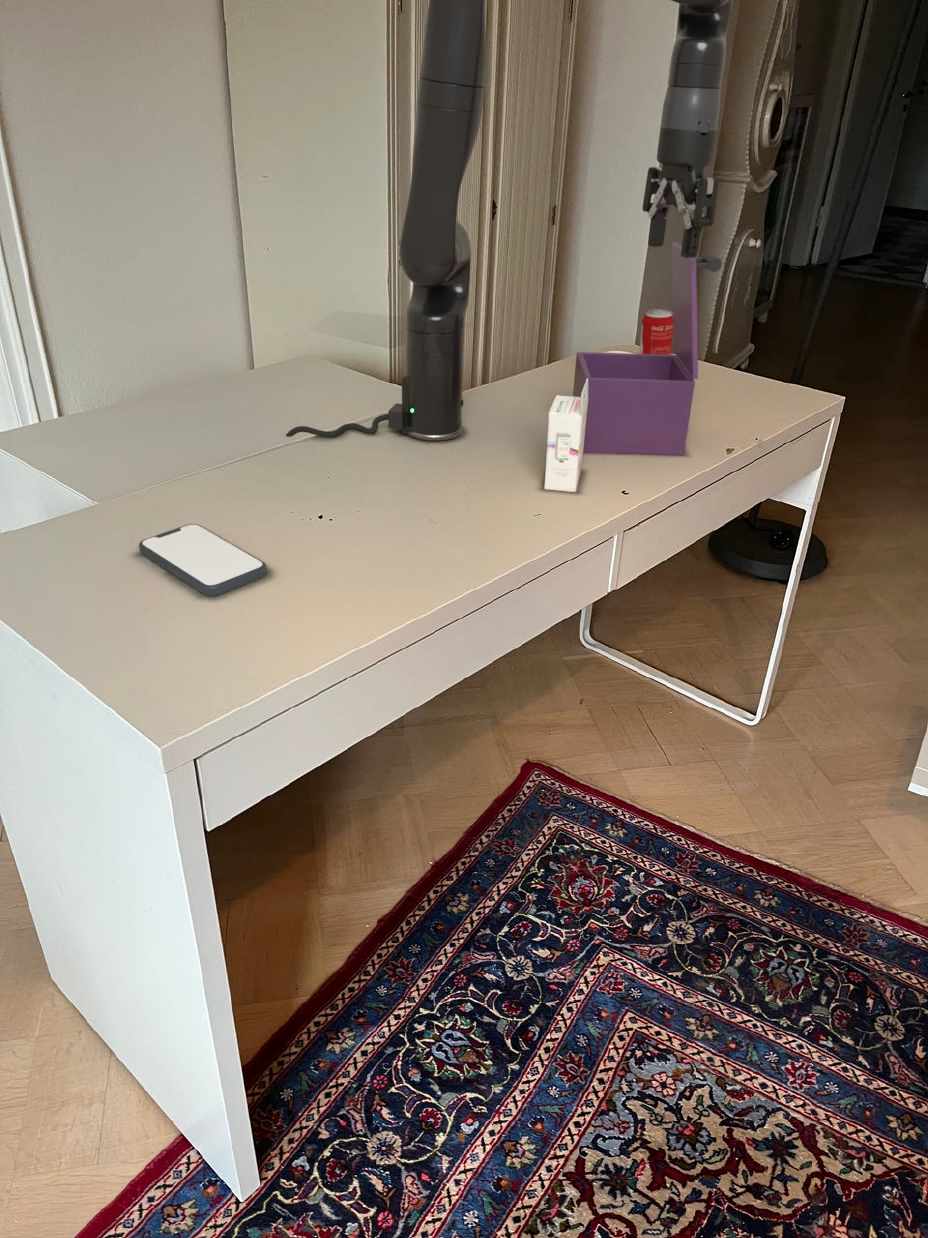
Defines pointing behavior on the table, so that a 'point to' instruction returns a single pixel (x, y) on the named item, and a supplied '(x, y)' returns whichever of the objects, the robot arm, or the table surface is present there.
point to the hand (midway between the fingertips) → (671, 251)
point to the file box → (634, 402)
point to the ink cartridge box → (566, 441)
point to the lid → (688, 304)
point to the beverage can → (657, 332)
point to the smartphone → (203, 559)
